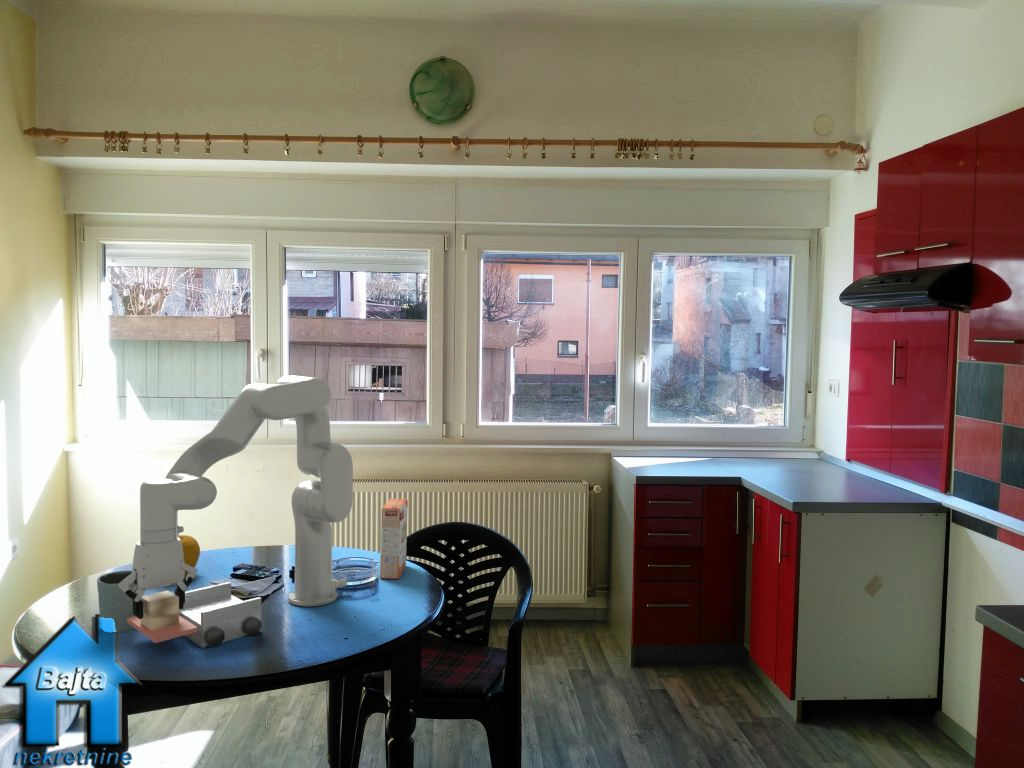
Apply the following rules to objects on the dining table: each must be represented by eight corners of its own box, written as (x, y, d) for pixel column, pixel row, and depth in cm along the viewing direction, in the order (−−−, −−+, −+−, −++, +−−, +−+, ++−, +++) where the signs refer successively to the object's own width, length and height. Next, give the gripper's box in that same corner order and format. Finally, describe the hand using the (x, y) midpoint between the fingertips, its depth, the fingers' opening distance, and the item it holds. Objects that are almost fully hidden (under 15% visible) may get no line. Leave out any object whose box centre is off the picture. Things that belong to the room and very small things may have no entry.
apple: (142, 576, 216) (142, 537, 215) (184, 566, 227) (184, 528, 226) (167, 586, 209) (167, 545, 208) (209, 574, 219) (209, 535, 219)
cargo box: (167, 616, 173) (167, 590, 173) (179, 623, 169) (178, 597, 169) (140, 622, 169) (140, 596, 169) (151, 630, 165) (151, 603, 165)
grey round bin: (112, 617, 185) (112, 569, 184) (153, 619, 185) (153, 570, 184) (88, 633, 175) (87, 582, 174) (131, 635, 174) (130, 584, 174)
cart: (226, 612, 190) (227, 580, 190) (263, 632, 178) (263, 599, 177) (170, 626, 180) (170, 593, 180) (205, 649, 168) (205, 614, 167)
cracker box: (400, 580, 219) (401, 508, 218) (379, 579, 219) (380, 507, 218) (407, 565, 233) (408, 498, 232) (387, 565, 233) (388, 497, 232)
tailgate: (167, 608, 178) (126, 618, 172) (197, 627, 167) (155, 638, 161) (167, 614, 178) (127, 624, 172) (197, 633, 167) (155, 644, 161)
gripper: (190, 525, 177) (190, 599, 178) (110, 538, 164) (111, 617, 165) (205, 531, 172) (205, 607, 173) (123, 545, 159) (124, 627, 160)
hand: (159, 612), depth 169 cm, fingers open, 8 cm apart
